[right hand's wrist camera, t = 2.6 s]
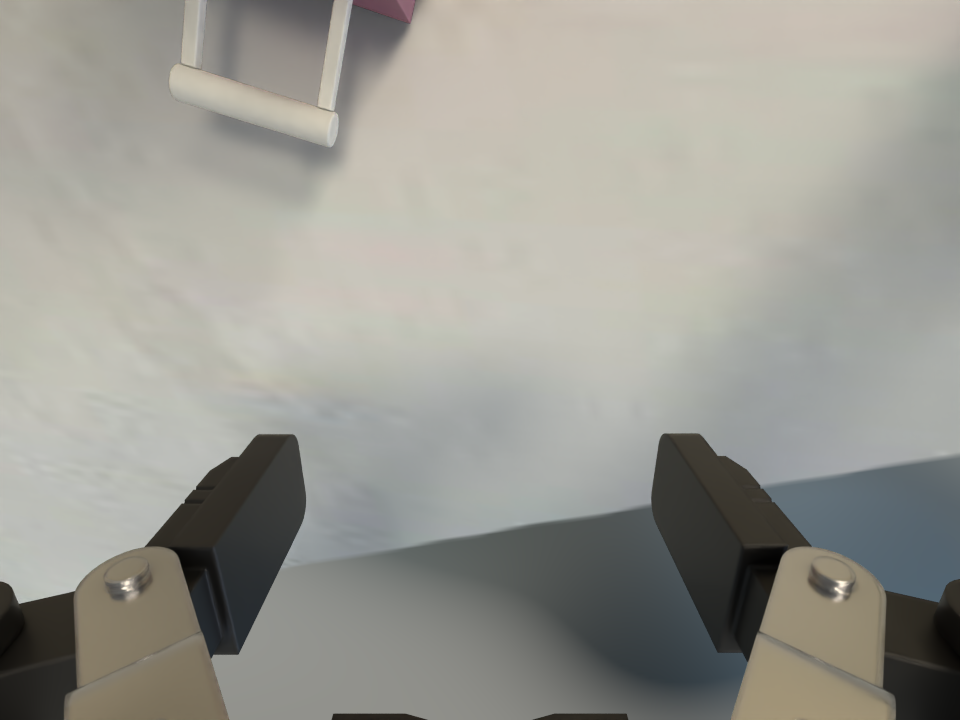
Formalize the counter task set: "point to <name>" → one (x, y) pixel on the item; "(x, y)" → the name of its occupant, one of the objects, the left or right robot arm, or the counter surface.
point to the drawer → (263, 104)
